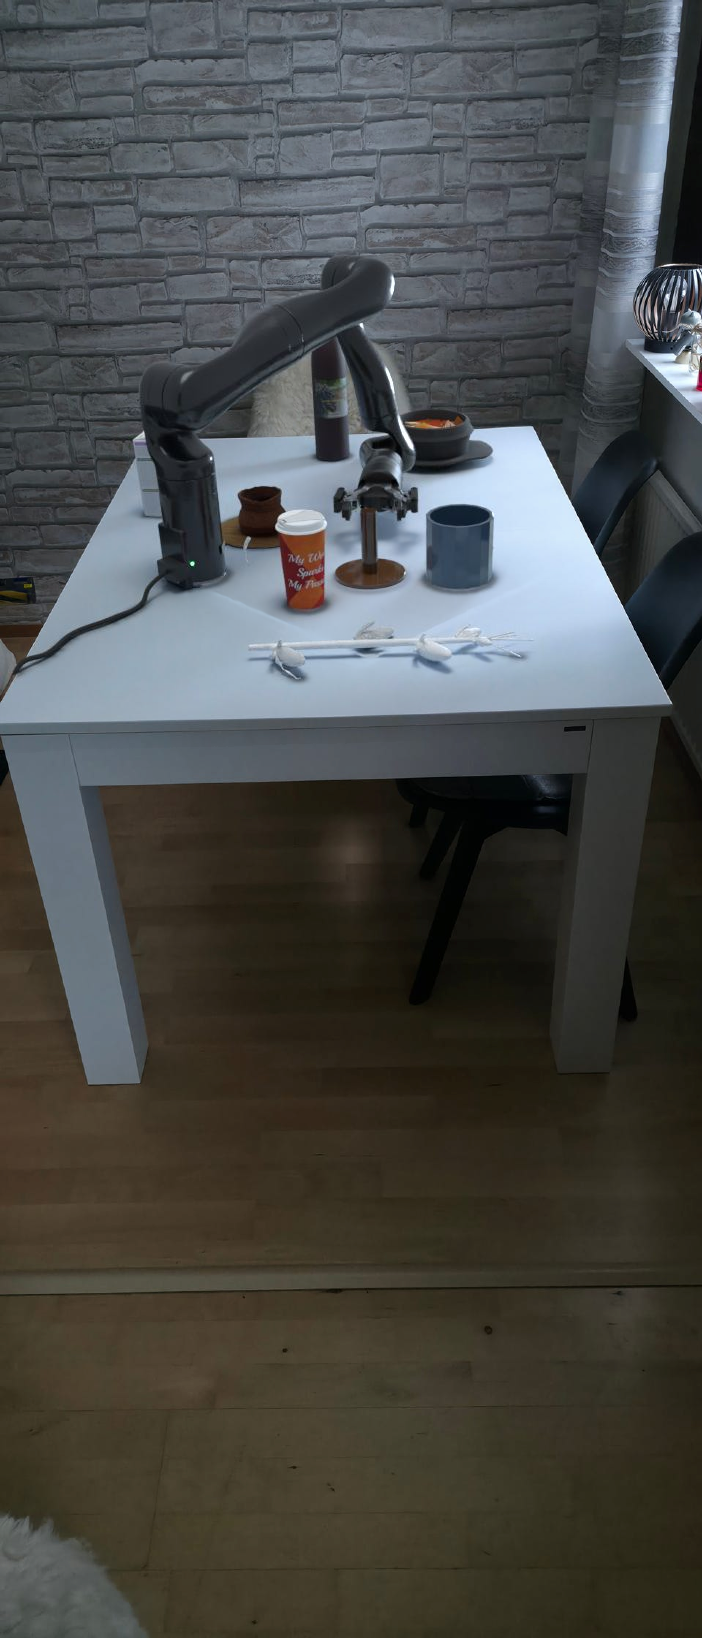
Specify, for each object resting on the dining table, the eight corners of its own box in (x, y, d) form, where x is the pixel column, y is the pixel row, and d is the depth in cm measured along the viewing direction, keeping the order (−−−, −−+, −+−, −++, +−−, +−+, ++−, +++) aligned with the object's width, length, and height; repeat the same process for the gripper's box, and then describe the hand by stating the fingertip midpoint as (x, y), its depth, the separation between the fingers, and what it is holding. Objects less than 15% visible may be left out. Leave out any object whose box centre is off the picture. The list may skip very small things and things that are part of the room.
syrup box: (173, 517, 208) (163, 438, 200) (143, 516, 209) (131, 437, 201) (183, 507, 213) (173, 429, 204) (153, 506, 214) (143, 428, 205)
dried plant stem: (245, 681, 153) (539, 671, 152) (233, 543, 145) (543, 531, 144) (253, 655, 164) (528, 646, 162) (243, 525, 156) (532, 514, 154)
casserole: (488, 445, 238) (489, 404, 233) (497, 472, 223) (498, 429, 218) (370, 449, 239) (369, 408, 234) (371, 477, 223) (370, 434, 219)
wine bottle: (313, 461, 233) (304, 305, 216) (319, 451, 239) (311, 298, 222) (346, 462, 232) (340, 305, 215) (352, 451, 238) (346, 298, 221)
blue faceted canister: (461, 597, 173) (463, 532, 168) (412, 580, 180) (412, 516, 174) (504, 577, 179) (507, 513, 173) (455, 561, 186) (456, 499, 180)
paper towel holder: (370, 598, 175) (368, 529, 168) (320, 579, 181) (316, 512, 175) (420, 576, 181) (420, 509, 175) (370, 559, 188) (368, 493, 181)
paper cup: (294, 619, 169) (287, 530, 161) (273, 602, 175) (266, 514, 167) (340, 608, 172) (336, 519, 164) (318, 591, 178) (313, 504, 170)
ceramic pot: (253, 557, 191) (249, 516, 187) (194, 531, 202) (189, 492, 198) (333, 529, 200) (332, 490, 196) (272, 506, 211) (270, 469, 207)
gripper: (339, 462, 195) (329, 492, 182) (421, 461, 194) (416, 492, 181) (341, 504, 200) (331, 537, 186) (421, 504, 198) (416, 537, 185)
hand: (373, 515), depth 184 cm, fingers open, 8 cm apart
